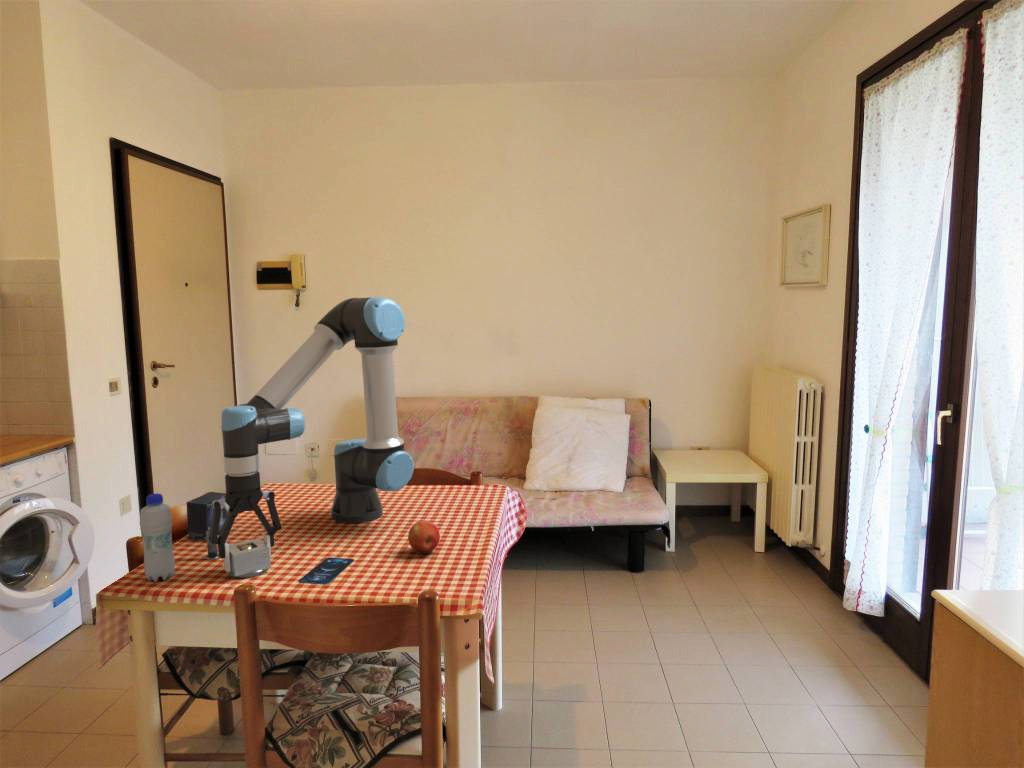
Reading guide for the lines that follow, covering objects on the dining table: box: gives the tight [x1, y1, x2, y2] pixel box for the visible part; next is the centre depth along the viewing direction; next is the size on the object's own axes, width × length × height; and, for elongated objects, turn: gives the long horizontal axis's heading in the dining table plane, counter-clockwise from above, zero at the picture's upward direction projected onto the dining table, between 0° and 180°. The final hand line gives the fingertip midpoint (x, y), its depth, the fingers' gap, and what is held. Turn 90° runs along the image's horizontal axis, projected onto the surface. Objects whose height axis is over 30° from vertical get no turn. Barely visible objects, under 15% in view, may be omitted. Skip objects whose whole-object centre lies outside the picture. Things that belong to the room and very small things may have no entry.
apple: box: [407, 519, 441, 555], centre depth 165 cm, size 8×8×8 cm
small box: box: [185, 491, 230, 541], centre depth 181 cm, size 11×6×10 cm, turn 168°
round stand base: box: [227, 545, 269, 580], centre depth 155 cm, size 9×9×6 cm
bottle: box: [139, 493, 176, 582], centre depth 151 cm, size 7×7×20 cm
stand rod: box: [205, 530, 221, 561], centre depth 163 cm, size 3×3×7 cm
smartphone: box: [298, 557, 355, 585], centre depth 155 cm, size 8×1×15 cm
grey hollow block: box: [229, 538, 271, 576], centre depth 155 cm, size 8×8×5 cm
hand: (248, 565), depth 155 cm, fingers open, 9 cm apart
